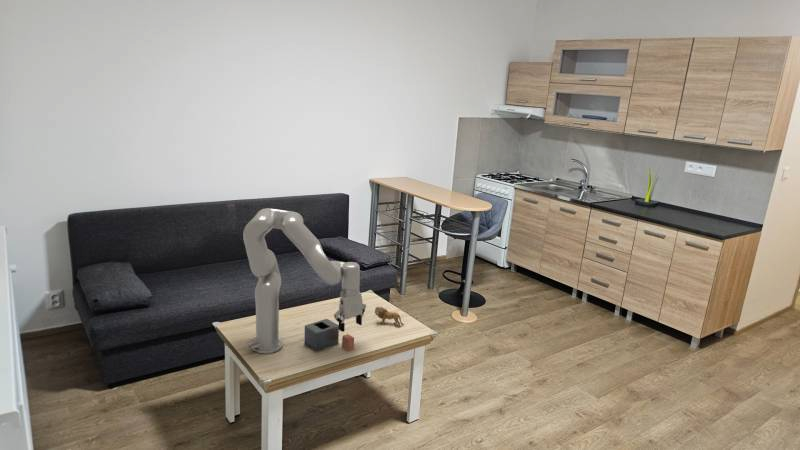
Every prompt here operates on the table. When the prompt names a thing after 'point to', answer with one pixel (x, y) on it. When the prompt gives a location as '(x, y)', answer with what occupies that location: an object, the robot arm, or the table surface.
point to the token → (348, 342)
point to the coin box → (321, 335)
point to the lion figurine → (387, 315)
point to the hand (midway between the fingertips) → (350, 327)
